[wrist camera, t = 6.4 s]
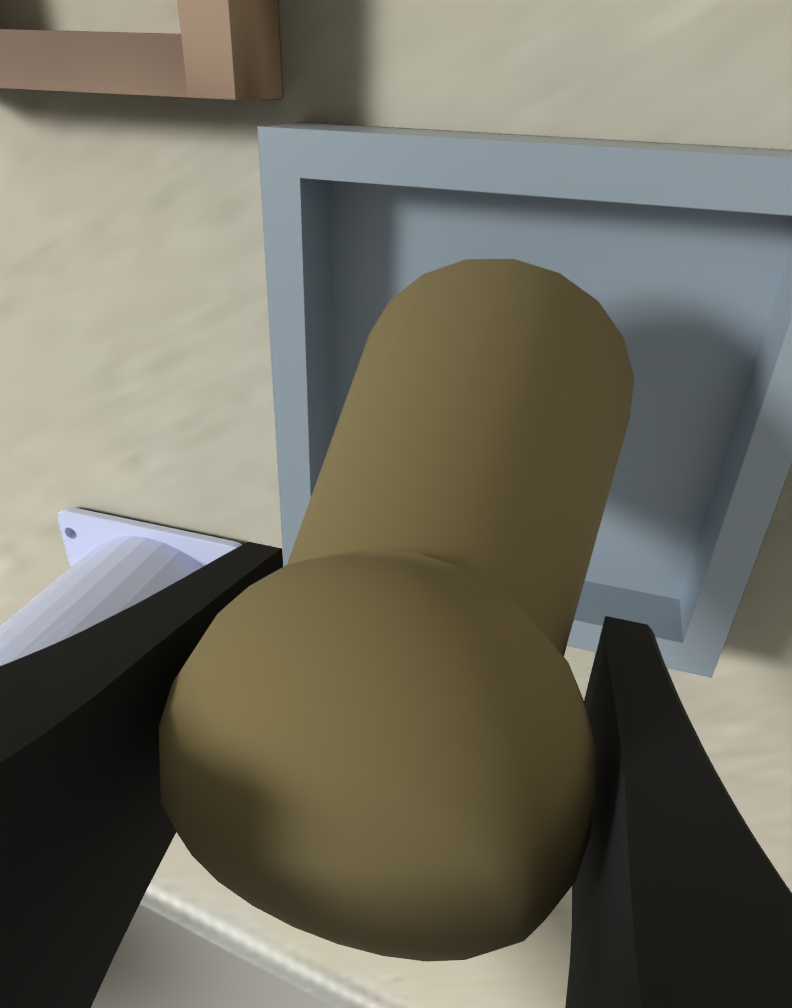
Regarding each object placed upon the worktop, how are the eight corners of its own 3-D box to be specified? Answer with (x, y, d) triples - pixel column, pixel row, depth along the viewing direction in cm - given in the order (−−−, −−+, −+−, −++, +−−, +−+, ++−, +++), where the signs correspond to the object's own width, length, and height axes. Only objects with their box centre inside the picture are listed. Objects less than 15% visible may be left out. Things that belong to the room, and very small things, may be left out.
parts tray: (704, 621, 22) (711, 677, 20) (314, 541, 25) (284, 583, 22) (866, 154, 15) (903, 164, 13) (301, 122, 18) (257, 126, 16)
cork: (624, 231, 13) (610, 752, 4) (642, 495, 16) (652, 1074, 8) (328, 283, 15) (-54, 700, 7) (398, 507, 18) (202, 971, 10)
